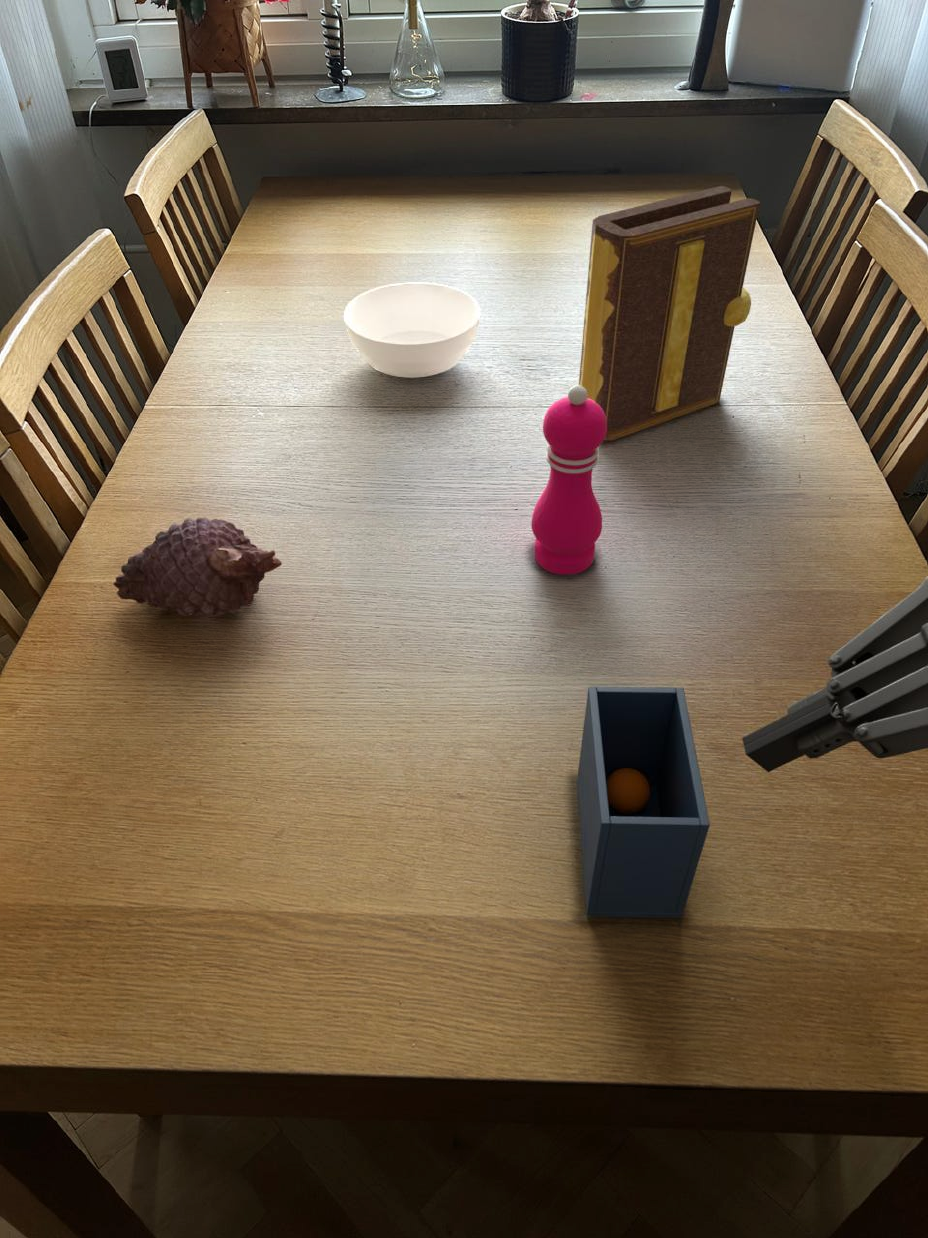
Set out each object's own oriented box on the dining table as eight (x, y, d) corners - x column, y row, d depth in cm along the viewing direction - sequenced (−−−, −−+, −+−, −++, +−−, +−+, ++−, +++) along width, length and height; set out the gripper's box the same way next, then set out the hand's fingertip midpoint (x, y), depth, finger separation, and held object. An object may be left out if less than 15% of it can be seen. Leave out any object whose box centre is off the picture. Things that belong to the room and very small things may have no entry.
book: (604, 449, 112) (628, 242, 95) (564, 417, 118) (579, 215, 100) (742, 400, 120) (786, 200, 103) (698, 372, 126) (734, 177, 108)
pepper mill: (583, 529, 101) (600, 362, 87) (608, 571, 96) (631, 400, 82) (520, 541, 100) (527, 373, 86) (542, 584, 95) (554, 412, 81)
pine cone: (107, 646, 89) (75, 545, 87) (158, 620, 98) (130, 529, 96) (276, 614, 85) (247, 507, 83) (312, 590, 94) (287, 494, 92)
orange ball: (654, 809, 75) (662, 773, 73) (631, 830, 72) (639, 792, 70) (616, 789, 76) (623, 753, 75) (592, 808, 74) (599, 771, 72)
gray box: (661, 784, 77) (683, 687, 68) (681, 918, 68) (710, 825, 60) (576, 782, 77) (588, 685, 69) (586, 916, 68) (601, 823, 60)
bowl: (327, 384, 124) (321, 333, 119) (376, 323, 137) (372, 275, 132) (458, 404, 120) (457, 352, 115) (496, 339, 133) (496, 290, 128)
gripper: (1200, 696, 49) (806, 859, 61) (1089, 540, 59) (766, 709, 71) (1148, 623, 46) (741, 811, 58) (1038, 470, 55) (708, 660, 67)
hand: (755, 755), depth 64 cm, fingers closed
